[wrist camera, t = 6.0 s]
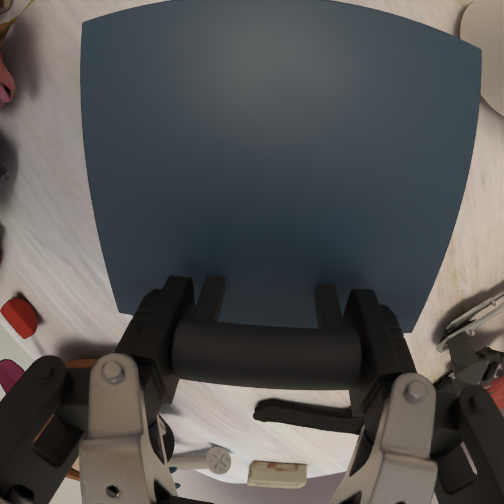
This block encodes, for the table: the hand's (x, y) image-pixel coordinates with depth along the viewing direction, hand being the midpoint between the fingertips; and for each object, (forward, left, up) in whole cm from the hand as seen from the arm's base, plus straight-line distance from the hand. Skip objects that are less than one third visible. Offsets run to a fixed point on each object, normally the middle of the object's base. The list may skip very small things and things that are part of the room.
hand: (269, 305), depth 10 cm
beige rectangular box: (0, -49, -8) cm, 50 cm away
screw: (-16, -49, -9) cm, 52 cm away
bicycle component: (+30, -6, -7) cm, 32 cm away
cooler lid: (0, +4, -2) cm, 4 cm away
